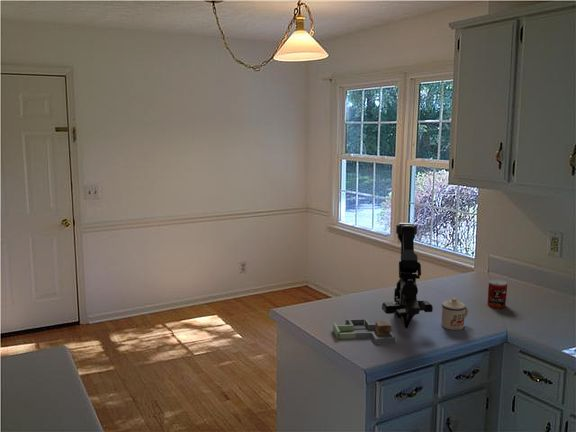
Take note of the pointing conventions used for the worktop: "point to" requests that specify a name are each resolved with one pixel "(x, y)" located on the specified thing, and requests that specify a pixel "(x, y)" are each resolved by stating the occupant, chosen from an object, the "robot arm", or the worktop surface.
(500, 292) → the canned food
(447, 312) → the teacup with lid
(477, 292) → the worktop surface
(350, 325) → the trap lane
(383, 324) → the walnut block
